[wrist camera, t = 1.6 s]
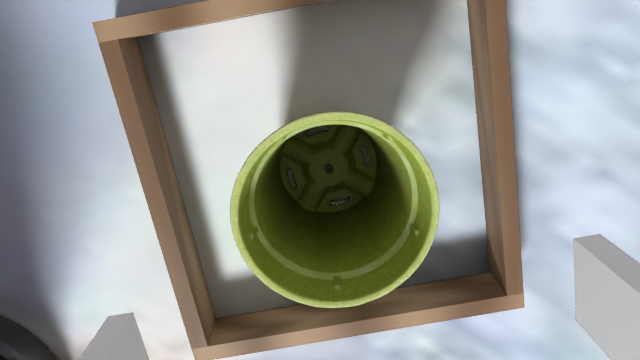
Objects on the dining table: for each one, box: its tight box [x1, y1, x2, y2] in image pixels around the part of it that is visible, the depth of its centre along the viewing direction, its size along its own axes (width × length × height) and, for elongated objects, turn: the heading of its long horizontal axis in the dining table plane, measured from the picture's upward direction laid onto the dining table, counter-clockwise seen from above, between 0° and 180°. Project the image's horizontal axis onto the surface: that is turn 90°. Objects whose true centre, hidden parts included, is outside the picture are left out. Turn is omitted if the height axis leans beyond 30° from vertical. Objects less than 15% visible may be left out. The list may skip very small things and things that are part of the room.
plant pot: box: [230, 111, 439, 308], centre depth 27 cm, size 9×9×9 cm
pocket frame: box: [92, 0, 524, 360], centre depth 29 cm, size 21×21×3 cm
